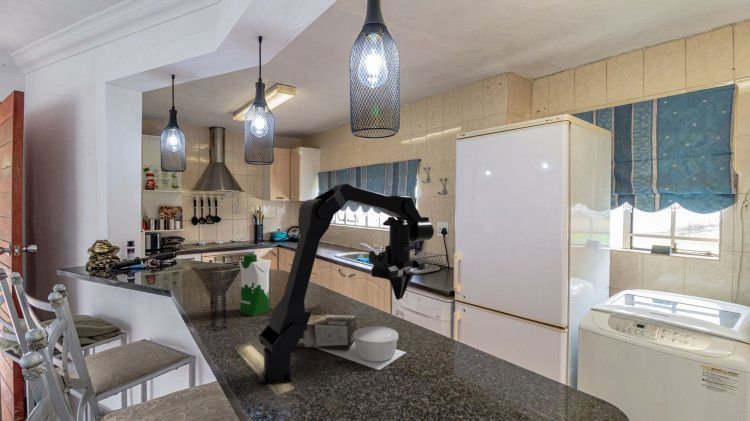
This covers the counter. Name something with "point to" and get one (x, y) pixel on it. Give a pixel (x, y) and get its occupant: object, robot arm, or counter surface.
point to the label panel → (353, 356)
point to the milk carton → (254, 285)
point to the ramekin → (375, 343)
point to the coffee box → (329, 332)
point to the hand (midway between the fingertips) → (399, 298)
